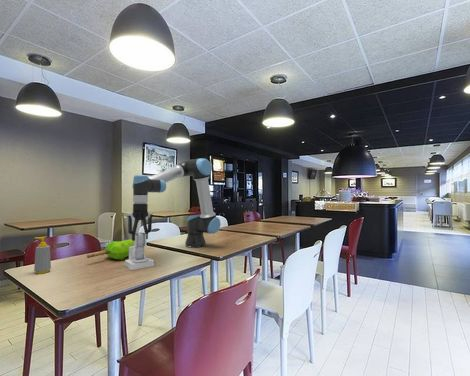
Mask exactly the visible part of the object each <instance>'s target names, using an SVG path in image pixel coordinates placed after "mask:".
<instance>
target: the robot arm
mask: <svg viewBox="0 0 470 376" xmlns="http://www.w3.org/2000/svg"><path fill="white" fill-rule="evenodd" d="M212 170H213V167H212V163H211V162H210V161H209V160H208V159H207V158H195V159H194V158H193V159H187V160H184V161H182V162H180V163H177V164H175V165H174V166H173V167H171V168H169V169H165V170H162V171H160V172H158V173H156V174H153V175H150V176H149V175H147V174H135V175H133V181H132V189H133V190H132V193H133V194H132V202H133V203H132V213H130V214H127V216H126V218H127V225H128V226H127V229H128V230H127V233H128V234H130V235H131V239H132V241H134V247H137V235H136V234H135V233H137V228H138V225H139V222H140V221H141V223H142V227H143V231H144V232H143V233H144V247H146V246H147V240H148V239H149V233H151V232H152V229H153V227H152V223H153V221H152V220H153V217H154V215H153V213H152V214H151V213H149V211H148V207H149V205H148V201H149V200H148V197H149V196H148V195H149V193H157V194H158V193H165V191H166V190H167V183H169V182H171V181H173V180H176V179H178V178H180V179H181V178H183V177H192V179H193V180H194V181H195V184H196V189H197V197H198V203H199V207H200V214H194V215H193V214H192V215H188V217H187V236H186V239H185V243H184V244H185V245H186V246H191V247H190V248H193V247H194V248H199V247H198V246H203V247H205V246H206V240H205V237H204V233H205V234H213V235H214V234H216V233H218V232H219V230H220V228H221V225H222V224H221V219H220V218H219V217H217V214H216V212H215V211H214V209H213V201H212V196H211V189H210V184H209V179H210V175H211V174H212ZM132 219H134V222H133V220H132ZM146 219H147V220H146ZM185 245H184V246H185ZM204 245H205V246H204ZM186 246H185V247H186Z"/></svg>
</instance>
